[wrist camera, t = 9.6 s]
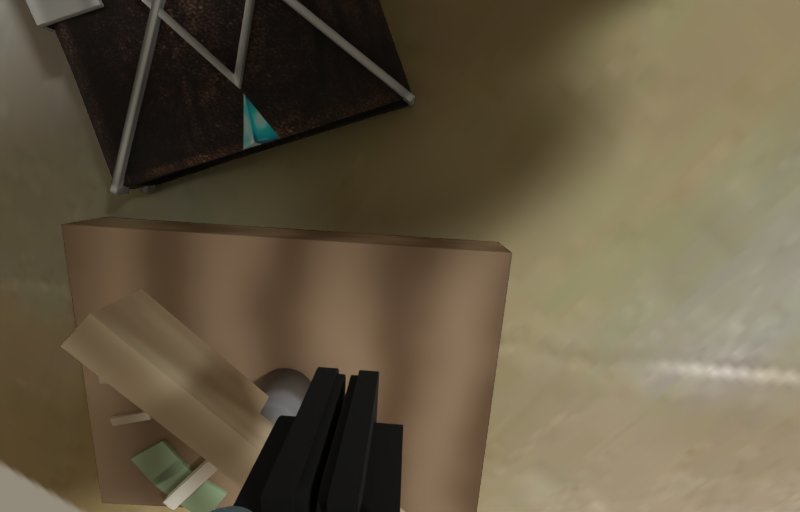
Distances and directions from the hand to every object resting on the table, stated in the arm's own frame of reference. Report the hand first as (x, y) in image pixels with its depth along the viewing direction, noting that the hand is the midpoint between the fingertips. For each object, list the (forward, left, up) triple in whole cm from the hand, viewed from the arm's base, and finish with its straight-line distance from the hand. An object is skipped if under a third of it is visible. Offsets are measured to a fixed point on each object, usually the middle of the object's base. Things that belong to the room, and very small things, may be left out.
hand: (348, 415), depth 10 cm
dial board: (+5, +6, -14) cm, 16 cm away
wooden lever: (+8, +10, -10) cm, 16 cm away
